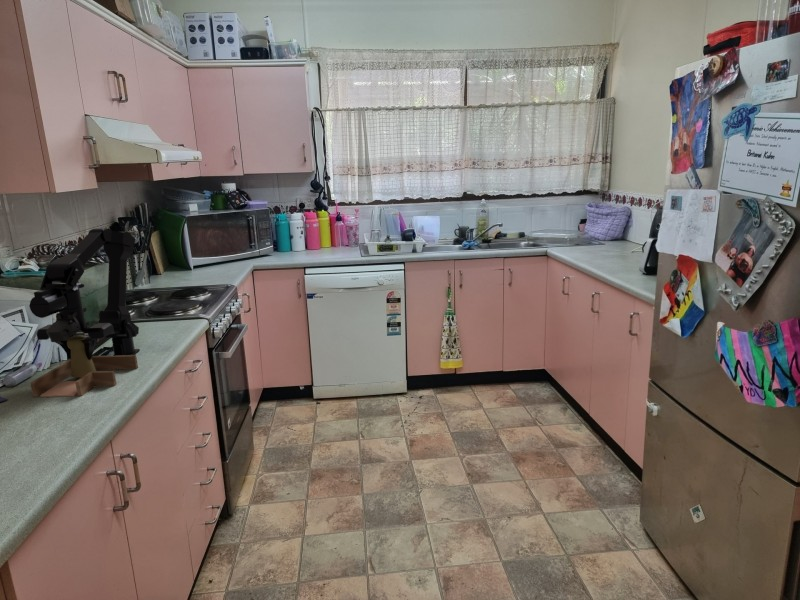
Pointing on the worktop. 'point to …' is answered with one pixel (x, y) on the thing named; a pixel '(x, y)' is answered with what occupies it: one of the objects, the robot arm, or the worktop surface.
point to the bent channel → (89, 379)
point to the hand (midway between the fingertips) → (81, 359)
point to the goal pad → (62, 389)
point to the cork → (79, 357)
